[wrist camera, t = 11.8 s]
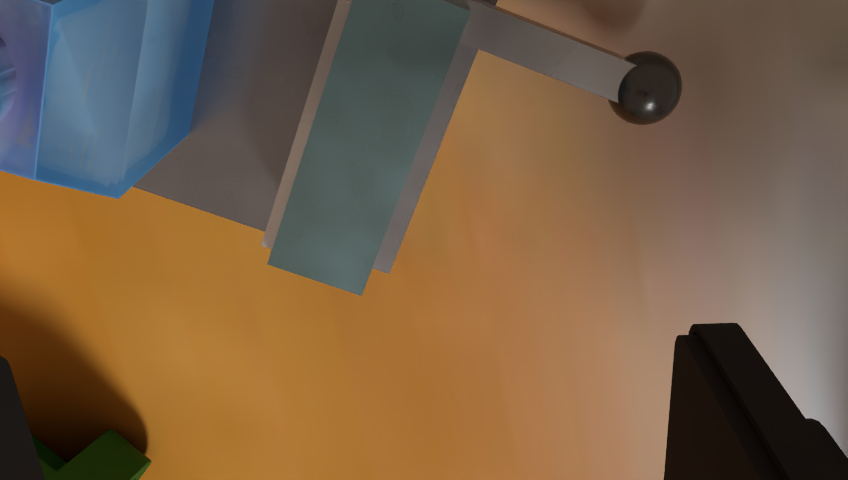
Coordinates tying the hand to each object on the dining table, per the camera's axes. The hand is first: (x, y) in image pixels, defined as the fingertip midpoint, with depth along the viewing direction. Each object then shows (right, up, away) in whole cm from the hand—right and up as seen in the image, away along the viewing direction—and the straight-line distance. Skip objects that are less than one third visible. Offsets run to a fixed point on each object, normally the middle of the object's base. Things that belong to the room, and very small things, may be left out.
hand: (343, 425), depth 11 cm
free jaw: (+3, +6, +15) cm, 16 cm away
